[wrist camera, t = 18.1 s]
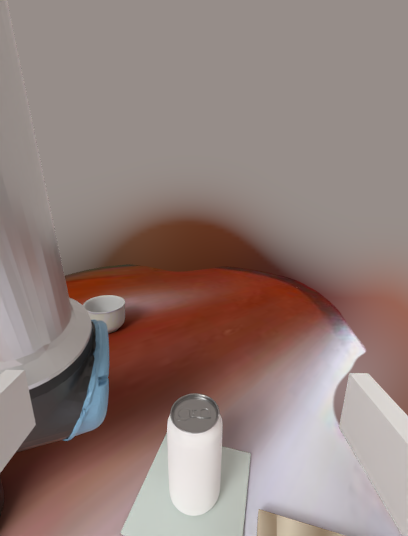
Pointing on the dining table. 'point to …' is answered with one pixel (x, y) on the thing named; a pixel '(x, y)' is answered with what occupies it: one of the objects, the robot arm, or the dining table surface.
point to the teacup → (107, 310)
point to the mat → (185, 526)
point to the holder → (287, 527)
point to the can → (194, 453)
